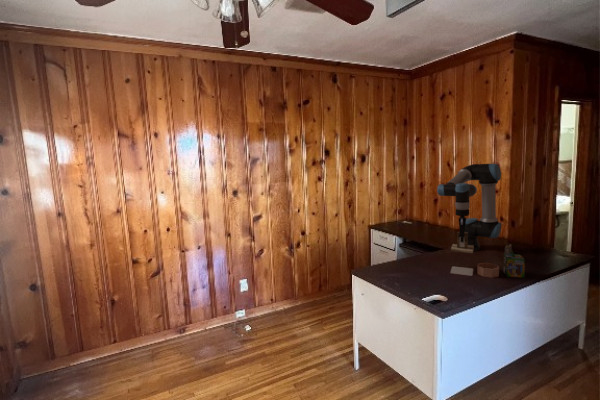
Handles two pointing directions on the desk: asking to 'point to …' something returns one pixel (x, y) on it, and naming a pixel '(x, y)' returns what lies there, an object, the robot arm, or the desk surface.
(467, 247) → the tan wooden stand
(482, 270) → the bowl
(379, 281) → the desk surface
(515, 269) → the green labelled jug
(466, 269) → the mat
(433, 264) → the desk surface
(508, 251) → the ruin model on sheet
